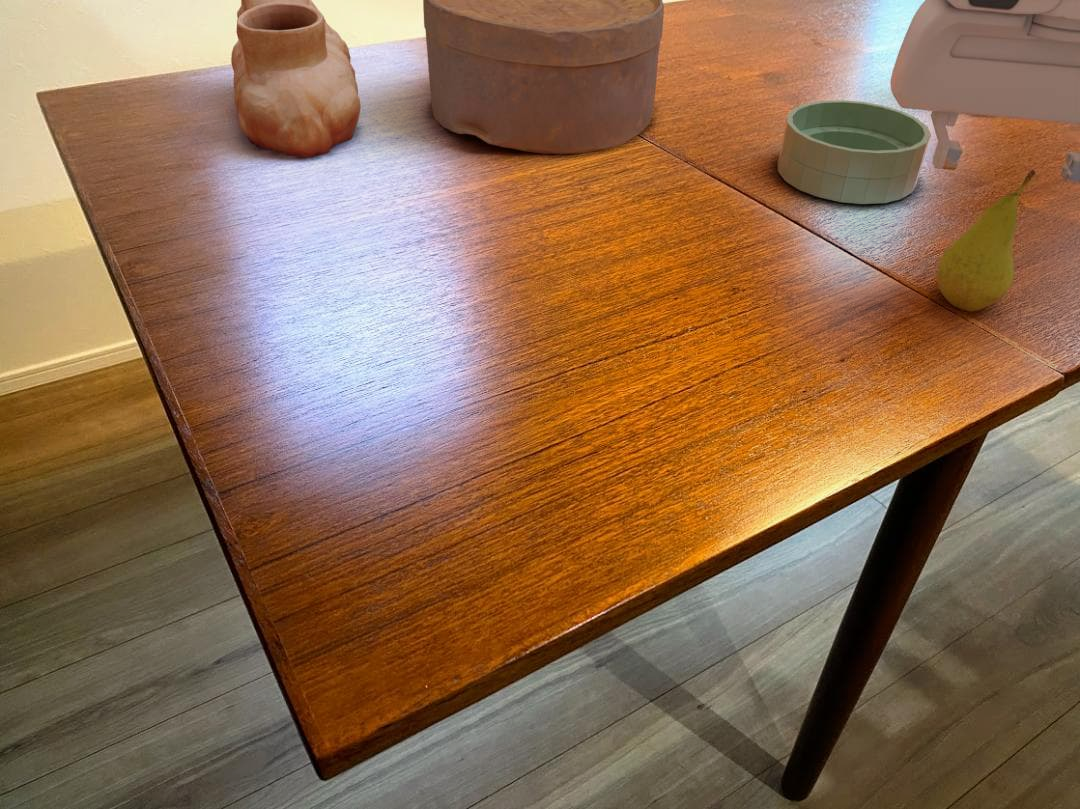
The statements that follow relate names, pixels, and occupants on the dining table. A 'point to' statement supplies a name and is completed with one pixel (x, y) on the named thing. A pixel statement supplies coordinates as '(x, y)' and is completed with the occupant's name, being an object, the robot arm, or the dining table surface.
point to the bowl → (852, 151)
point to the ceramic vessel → (292, 79)
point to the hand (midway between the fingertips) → (1007, 173)
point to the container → (544, 70)
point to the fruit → (982, 257)
